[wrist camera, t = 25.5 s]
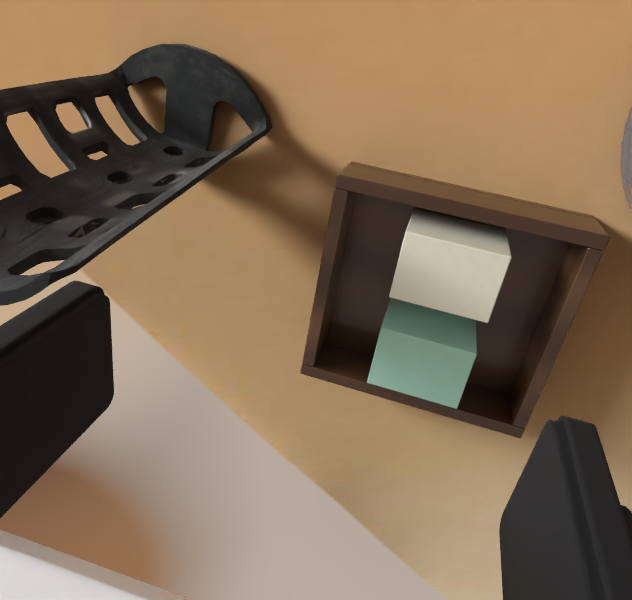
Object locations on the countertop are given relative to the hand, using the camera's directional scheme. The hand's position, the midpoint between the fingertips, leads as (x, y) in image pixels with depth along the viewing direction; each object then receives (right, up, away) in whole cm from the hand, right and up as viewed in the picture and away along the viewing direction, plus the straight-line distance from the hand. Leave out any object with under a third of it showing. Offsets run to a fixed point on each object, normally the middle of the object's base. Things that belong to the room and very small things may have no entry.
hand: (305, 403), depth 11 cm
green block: (+8, 0, +25) cm, 26 cm away
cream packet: (+9, +5, +22) cm, 24 cm away
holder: (-8, +14, +24) cm, 28 cm away
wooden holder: (+8, +3, +24) cm, 25 cm away
